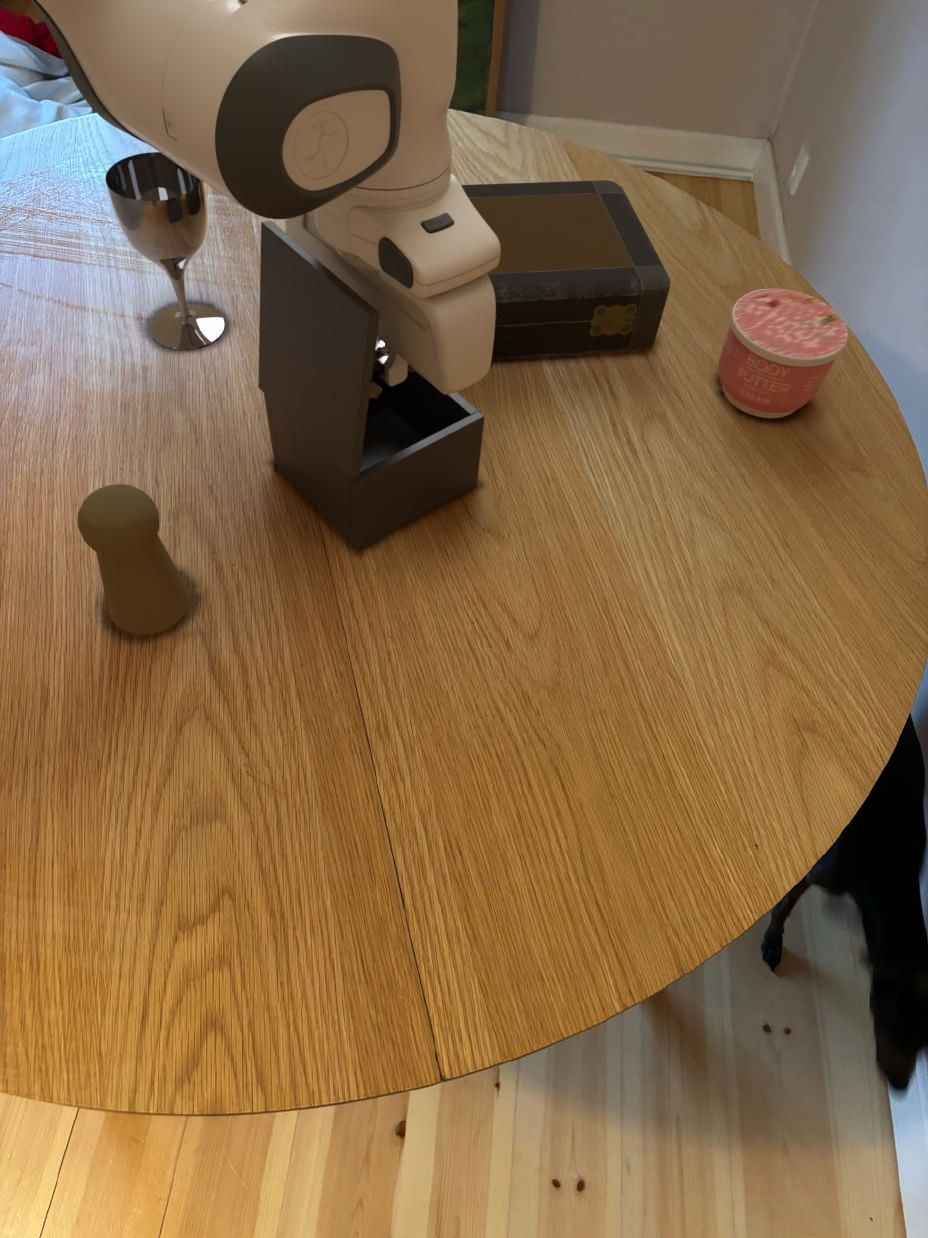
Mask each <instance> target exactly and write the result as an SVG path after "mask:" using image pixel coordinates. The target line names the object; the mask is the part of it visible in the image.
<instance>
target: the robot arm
mask: <svg viewBox="0 0 928 1238" xmlns="http://www.w3.org/2000/svg"><path fill="white" fill-rule="evenodd" d="M31 2H32V3H33V5H34V6H35V8H36V9H37V11H38V12H39V14H40V15H41V18H42V19H43V21H44V22H45V24H46V26H47V29H48V30H49V33H50V34H51V36H52V38H53V40H54V43H55V45H56V47H57V49H58V53H59V54H60V56H61V58H62V61H63V63H64V65H65V67H66V69H67V71H68V74H69V75H70V77H71V79H72V81H73V83H74V85H75V86H76V88H77V90H78V92H79V93H80V94H81V96H82V97H83V99H84V100H85V102H86V103H87V104H88V105H89V107H91V109H92V110H93V111H94V112H95V113H96V114H97V115H98V116H99V117H100V118H102V119H103V120H104V121H105V122H106V123H108V124H110V125H111V126H113V128H116V129H118V130H120V131H122V132H124V133H125V134H128V135H129V136H131V137H132V138H134V139H137V140H138V141H140V142H142V143H143V144H146V145H149V146H150V147H152V148H153V149H154V150H156V152H160V153H162V154H163V155H165V156H166V157H168V158H169V159H171V160H172V161H173V162H175V163H176V164H178V165H179V166H181V167H182V168H184V169H185V170H187V171H188V172H189V173H191V174H192V175H194V176H195V177H197V178H199V179H200V180H202V181H203V182H204V184H206V185H207V186H209V187H210V188H212V189H213V190H215V191H216V192H218V193H219V194H220V195H222V196H223V197H225V198H227V199H228V200H230V201H231V202H233V203H235V204H237V206H240V207H241V208H243V209H245V210H247V211H249V212H251V213H252V214H254V215H257V216H259V217H262V218H265V219H268V220H269V219H270V220H285V233H286V234H288V235H289V236H290V237H291V238H292V239H293V240H295V241H296V242H297V243H298V244H299V245H301V246H302V247H303V248H304V249H305V250H306V251H308V252H309V253H310V254H311V255H312V256H313V257H315V258H316V259H317V260H318V261H319V262H321V263H322V264H323V265H324V266H325V267H326V268H328V269H329V270H330V271H331V272H332V273H334V274H335V275H336V276H337V277H338V278H339V279H341V280H342V281H343V282H344V283H345V284H346V285H348V286H349V287H350V288H351V289H352V290H354V291H355V292H356V293H357V294H358V295H359V296H361V297H362V298H363V299H364V300H365V301H367V302H368V303H369V304H370V305H371V306H372V307H374V308H375V309H376V310H377V311H378V312H379V313H380V316H379V324H378V332H377V340H376V348H375V355H374V356H378V354H379V355H383V354H384V355H388V353H387V352H390V354H389V355H388V356H384V357H381V358H379V359H377V366H378V369H379V370H378V375H379V376H380V377H381V378H382V379H383V380H384V381H385V382H386V383H387V384H388V385H389V386H394V385H396V384H399V383H401V382H403V381H404V380H405V379H406V377H407V365H408V364H409V365H410V366H411V367H413V368H414V369H415V370H416V371H417V372H418V373H420V374H421V375H422V376H423V377H424V378H425V379H426V380H428V381H429V382H430V383H431V384H432V385H433V386H434V387H436V388H437V389H438V390H439V391H440V392H441V393H443V394H446V395H449V394H452V393H455V392H457V393H458V392H460V391H462V390H464V389H467V388H468V387H471V386H472V385H475V384H476V383H478V382H479V381H481V380H483V378H484V377H485V376H487V374H488V373H489V371H490V368H491V364H492V360H491V359H492V352H493V343H494V332H495V316H496V301H495V293H494V289H493V286H492V283H491V280H490V279H489V277H488V275H487V272H489V271H491V270H493V269H494V268H496V267H497V266H498V264H499V261H500V254H501V247H500V242H499V240H498V238H497V236H496V235H495V233H494V232H493V231H492V229H491V228H490V227H489V226H488V224H487V223H486V222H485V221H484V219H483V218H482V217H481V215H480V214H479V213H478V211H477V210H476V209H475V207H474V206H473V204H472V203H471V201H470V200H469V198H468V197H467V195H466V193H465V192H464V190H463V188H462V186H461V185H462V184H461V183H460V181H459V179H458V177H457V176H456V175H455V174H454V173H453V172H452V156H453V155H452V153H453V152H452V151H453V150H452V143H451V139H450V133H449V129H448V112H449V109H450V108H449V107H450V104H451V100H452V99H453V95H454V92H455V88H456V81H457V80H456V79H457V63H458V61H457V60H458V40H459V39H458V38H459V36H458V35H459V1H458V0H31Z"/></svg>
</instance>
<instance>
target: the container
mask: <svg viewBox="0 0 928 1238" xmlns="http://www.w3.org/2000/svg"><path fill="white" fill-rule="evenodd" d="M729 317H730V318H729V324H730V325H729V327H728V329H727V333H726V336H725V339H724V343H723V346H722V349H721V352H720V356H719V359H718V376H719V379H720V383H721V385H722V386H721V387H722V391H723V394H724V396H725V398H726V400H728V401H729V402H730V404H732V405H733V406H734V407H736V408H737V409H739V410H740V411H742V412H744V413H746V414H748V415H752V416H755V417H757V418H758V417H759V418H764V419H778V418H779V419H780V418H783V417H786V416H789V415H792V414H793V413H794V412H795V411H797V410H798V409H800V408H802V407H803V406H805V405H806V404H807V403H808V402H809V401H811V400H812V399H813V398H814V397H815V396H816V395H817V393H818V392H819V390H820V388H821V386H822V385H823V383H824V381H825V379H826V377H827V376H828V374H829V372H830V371H831V368H832V367H833V365H834V363H835V361H836V358H838V357H839V356H840V355H841V353H842V352H843V351H844V349H845V347H846V344H847V342H848V339H849V334H848V333H849V331H848V328H847V325H846V323H845V321H844V320H843V318H842V317H841V315H839V313H837V312H836V310H834V308H833V307H831V306H830V305H828V304H827V303H826V302H823V301H822V300H820V299H818V298H816V297H814V296H811V295H810V294H806V293H803V292H800V291H796V290H792V289H785V288H762V289H758V290H753V291H750V292H748V293H745V294H744V295H742V296H741V297H740V298H739V299H738V300H737V301H736V302H735V304H734V305H733V308H732V310H731V313H730V316H729Z"/></svg>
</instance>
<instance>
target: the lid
mask: <svg viewBox="0 0 928 1238" xmlns="http://www.w3.org/2000/svg"><path fill="white" fill-rule="evenodd" d="M259 273H260V274H259V275H260V276H259V324H258V325H259V329H258V330H259V331H258V332H259V334H258V336H259V337H258V390H260V391H261V392H262V393H263V395H264V394H265V395H266V396H267V397H268V398H269V399H270V400H271V401H272V402H273V403H274V404H275V405H276V406H277V407H278V408H279V409H280V410H281V411H282V412H283V413H284V414H285V415H286V416H287V417H288V418H289V419H290V420H291V421H292V422H293V423H294V424H295V425H296V426H297V427H298V428H299V429H300V430H301V431H302V432H303V433H304V434H305V435H306V436H307V437H308V438H309V439H310V440H311V441H312V442H313V443H314V444H315V445H316V446H317V447H318V448H319V449H320V450H321V451H322V452H323V453H324V454H325V455H326V456H327V457H328V458H329V459H330V460H331V461H332V462H333V463H334V464H335V465H336V466H337V467H338V468H339V469H340V470H341V471H342V472H343V473H344V474H345V475H346V476H347V477H348V478H349V479H350V480H353V479H355V478H358V477H359V475H360V467H361V459H362V451H363V443H364V435H365V427H366V419H367V411H368V403H369V395H370V387H371V379H372V371H373V363H374V355H375V348H376V340H377V332H378V324H379V316H380V313H379V312H378V311H377V310H376V309H375V308H374V307H372V306H371V305H370V304H369V303H368V302H367V301H365V300H364V299H363V298H362V297H361V296H359V295H358V294H357V293H356V292H355V291H354V290H352V289H351V288H350V287H349V286H348V285H346V284H345V283H344V282H343V281H342V280H341V279H339V278H338V277H337V276H336V275H335V274H334V273H332V272H331V271H330V270H329V269H328V268H326V267H325V266H324V265H323V264H322V263H321V262H319V261H318V260H317V259H316V258H315V257H313V256H312V255H311V254H310V253H309V252H308V251H306V250H305V249H304V248H303V247H302V246H301V245H299V244H298V243H297V242H296V241H295V240H293V239H292V238H291V237H290V236H289V235H288V234H286V231H284V230H283V229H282V228H281V227H279V226H278V225H277V224H276V223H275V222H274V221H272V219H270V220H265V221H261V222H260V268H259Z"/></svg>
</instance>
